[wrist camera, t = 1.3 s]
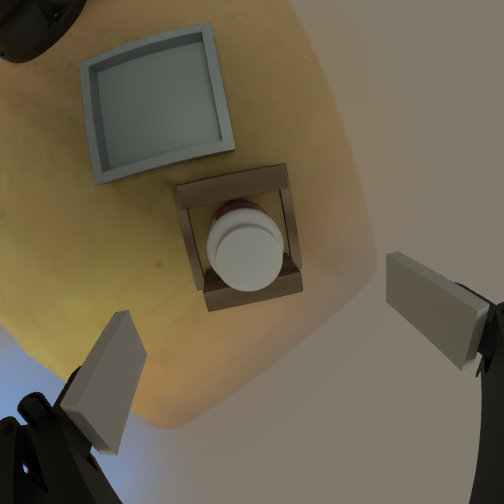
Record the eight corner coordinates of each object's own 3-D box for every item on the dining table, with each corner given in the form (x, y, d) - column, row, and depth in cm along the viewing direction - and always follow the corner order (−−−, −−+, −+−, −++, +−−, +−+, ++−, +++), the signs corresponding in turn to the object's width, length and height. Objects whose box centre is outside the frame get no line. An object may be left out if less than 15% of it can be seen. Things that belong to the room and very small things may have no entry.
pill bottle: (275, 206, 30) (305, 227, 19) (260, 260, 31) (280, 307, 21) (217, 192, 29) (215, 206, 18) (204, 249, 30) (196, 292, 20)
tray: (91, 70, 23) (80, 62, 20) (211, 34, 23) (210, 22, 20) (107, 183, 27) (95, 185, 24) (234, 150, 27) (235, 148, 24)
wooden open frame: (172, 186, 28) (160, 190, 22) (284, 163, 28) (300, 162, 23) (198, 288, 31) (193, 314, 26) (300, 266, 32) (317, 287, 26)
